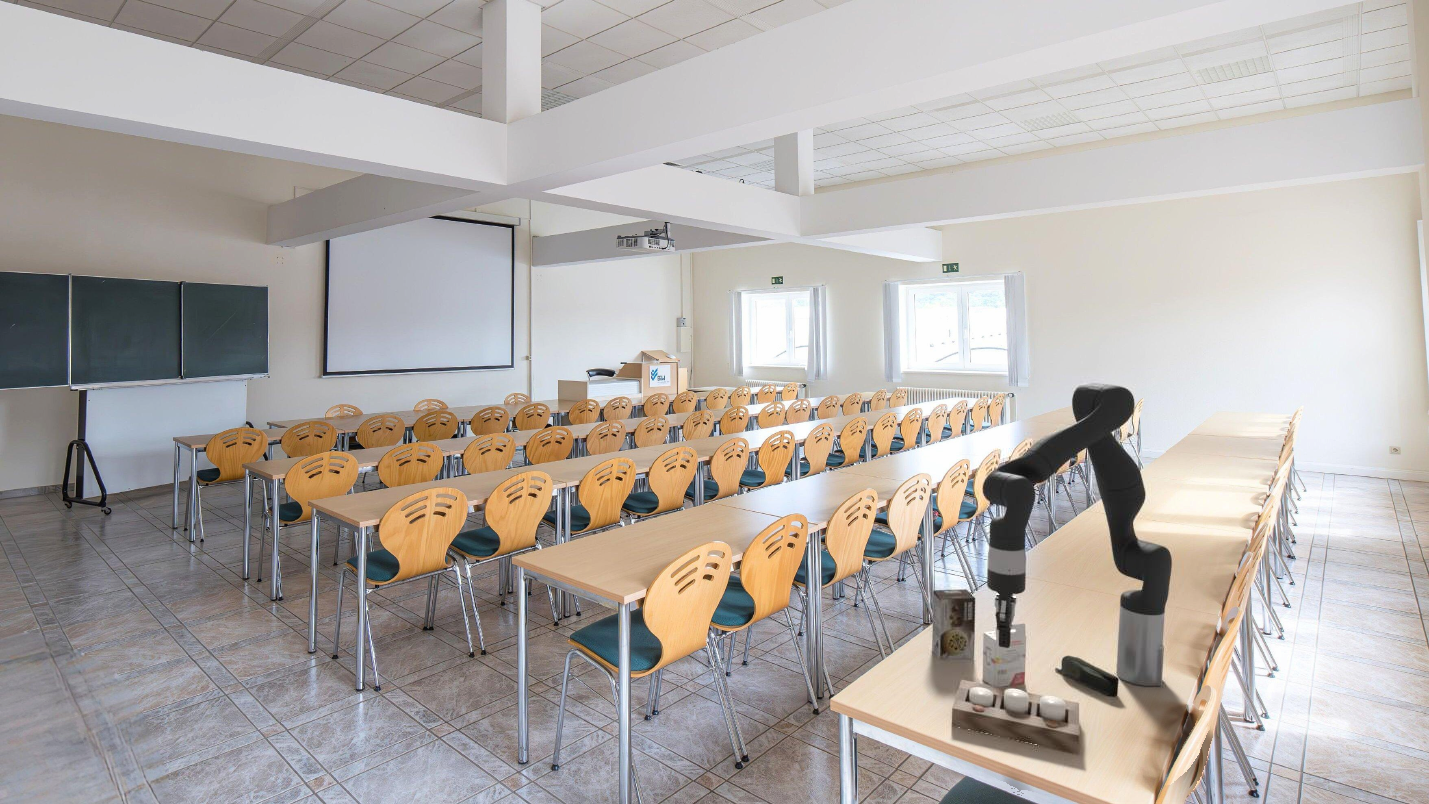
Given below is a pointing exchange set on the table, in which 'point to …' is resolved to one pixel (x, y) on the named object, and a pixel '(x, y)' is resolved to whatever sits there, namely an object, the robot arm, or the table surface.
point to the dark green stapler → (1089, 675)
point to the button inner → (1052, 708)
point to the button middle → (1016, 701)
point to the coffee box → (953, 624)
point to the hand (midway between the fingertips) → (1004, 645)
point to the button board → (1016, 720)
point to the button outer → (981, 696)
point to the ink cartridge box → (1004, 658)
